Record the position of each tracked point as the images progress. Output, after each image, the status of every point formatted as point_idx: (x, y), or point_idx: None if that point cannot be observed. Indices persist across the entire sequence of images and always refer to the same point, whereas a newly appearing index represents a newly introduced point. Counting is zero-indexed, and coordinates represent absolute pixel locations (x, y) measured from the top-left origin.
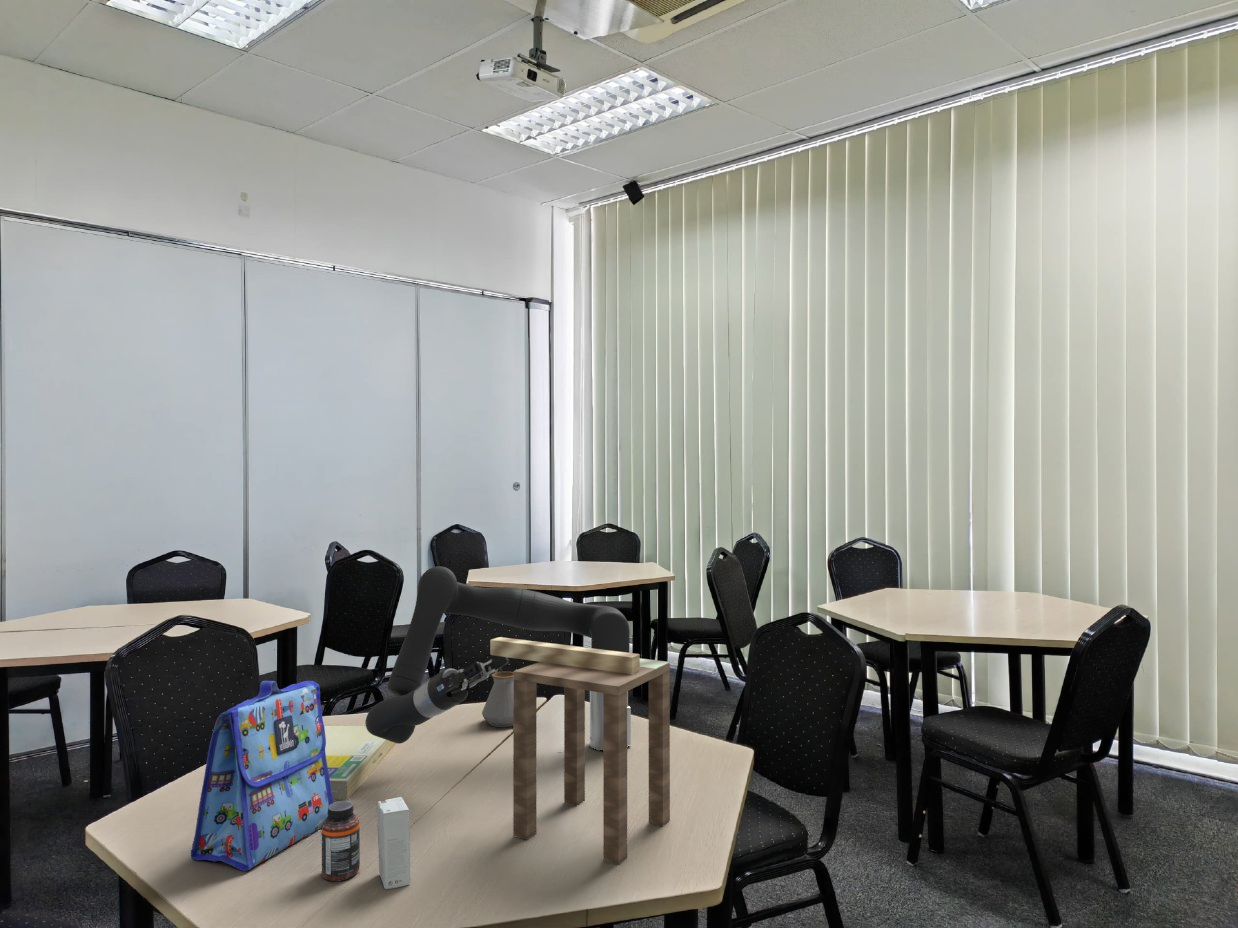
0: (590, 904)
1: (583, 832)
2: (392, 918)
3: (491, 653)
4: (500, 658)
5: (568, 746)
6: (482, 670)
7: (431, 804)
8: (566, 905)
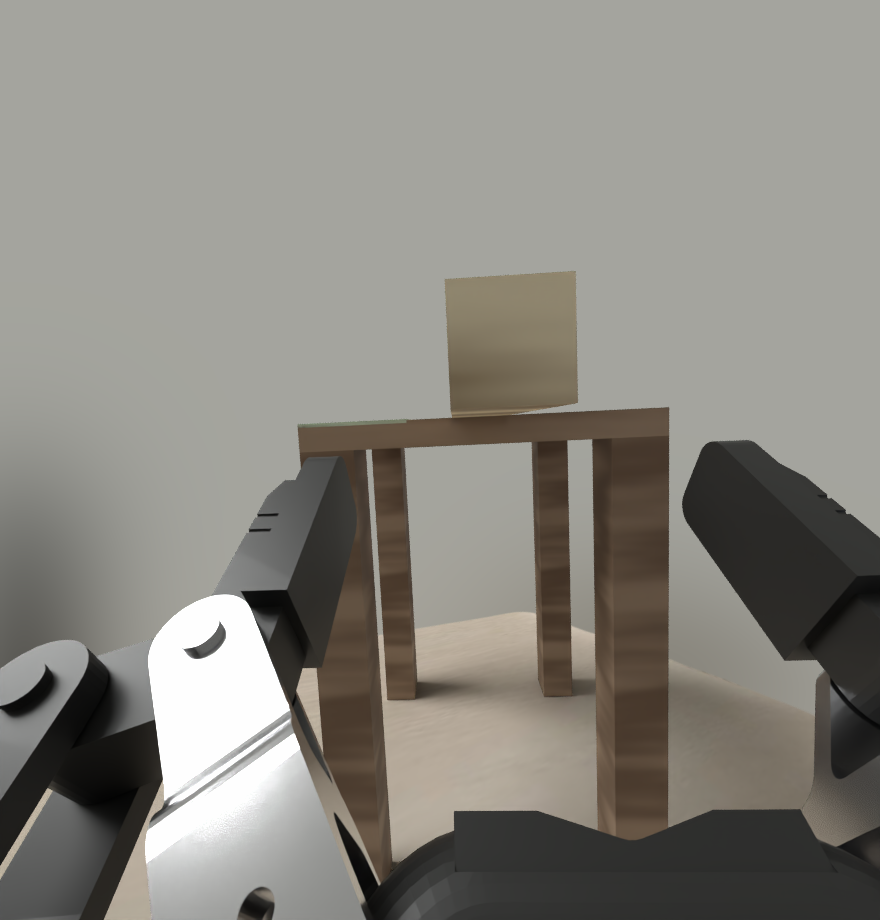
0: (669, 663)
1: (513, 766)
2: None
3: (575, 391)
4: (335, 511)
5: (376, 726)
6: (683, 507)
7: None
8: (702, 679)
